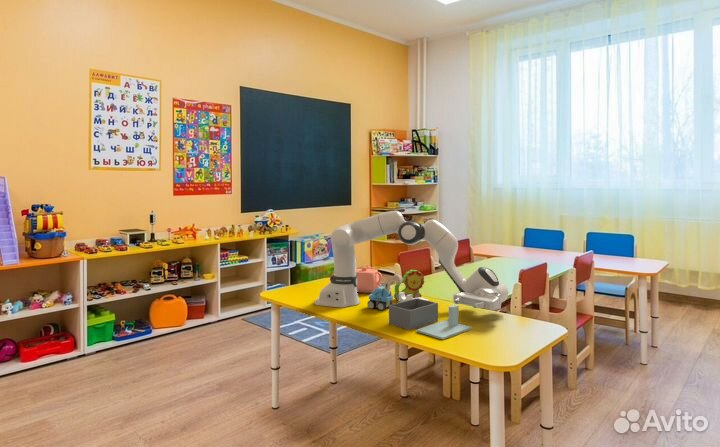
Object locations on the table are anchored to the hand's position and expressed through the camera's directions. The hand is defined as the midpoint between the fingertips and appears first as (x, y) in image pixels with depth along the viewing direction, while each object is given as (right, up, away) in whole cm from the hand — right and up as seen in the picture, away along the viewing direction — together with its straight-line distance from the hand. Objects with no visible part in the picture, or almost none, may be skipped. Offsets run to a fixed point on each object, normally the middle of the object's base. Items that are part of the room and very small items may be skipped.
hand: (465, 304), depth 191 cm
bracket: (-18, -7, +28) cm, 34 cm away
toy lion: (-19, -5, +43) cm, 48 cm away
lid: (-10, -9, -8) cm, 16 cm away
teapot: (-41, -4, +65) cm, 77 cm away
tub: (-21, -8, +3) cm, 23 cm away
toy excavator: (-32, -7, +26) cm, 42 cm away
